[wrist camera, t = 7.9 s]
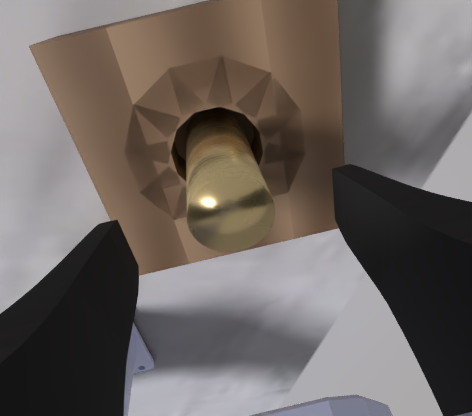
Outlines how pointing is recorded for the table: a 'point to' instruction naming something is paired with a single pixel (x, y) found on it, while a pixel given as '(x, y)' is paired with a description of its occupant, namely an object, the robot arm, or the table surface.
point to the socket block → (198, 99)
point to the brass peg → (224, 184)
